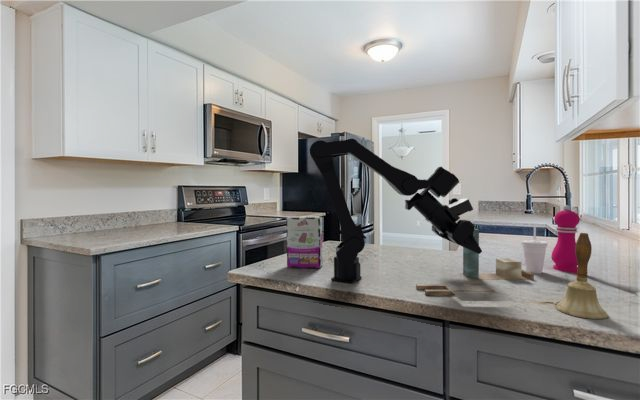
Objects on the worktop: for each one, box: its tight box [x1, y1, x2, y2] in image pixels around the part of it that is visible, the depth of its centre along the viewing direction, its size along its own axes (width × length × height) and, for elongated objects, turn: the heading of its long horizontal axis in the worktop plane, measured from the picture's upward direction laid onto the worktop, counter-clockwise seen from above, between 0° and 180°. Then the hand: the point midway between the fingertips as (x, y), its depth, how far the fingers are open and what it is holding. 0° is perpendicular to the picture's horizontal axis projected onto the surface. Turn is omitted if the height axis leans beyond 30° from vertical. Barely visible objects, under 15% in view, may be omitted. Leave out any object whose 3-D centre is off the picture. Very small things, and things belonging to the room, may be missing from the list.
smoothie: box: [521, 226, 548, 274], centre depth 96 cm, size 6×6×14 cm
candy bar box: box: [285, 215, 324, 269], centre depth 109 cm, size 11×5×16 cm, turn 80°
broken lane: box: [415, 282, 496, 297], centre depth 82 cm, size 18×7×1 cm, turn 87°
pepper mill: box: [550, 204, 580, 275], centre depth 99 cm, size 7×7×20 cm
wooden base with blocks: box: [458, 228, 535, 281], centre depth 91 cm, size 17×6×14 cm, turn 87°
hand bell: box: [555, 232, 609, 320], centre depth 67 cm, size 8×8×16 cm
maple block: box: [495, 257, 522, 279], centre depth 91 cm, size 4×4×4 cm
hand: (473, 249), depth 91 cm, fingers open, 9 cm apart
